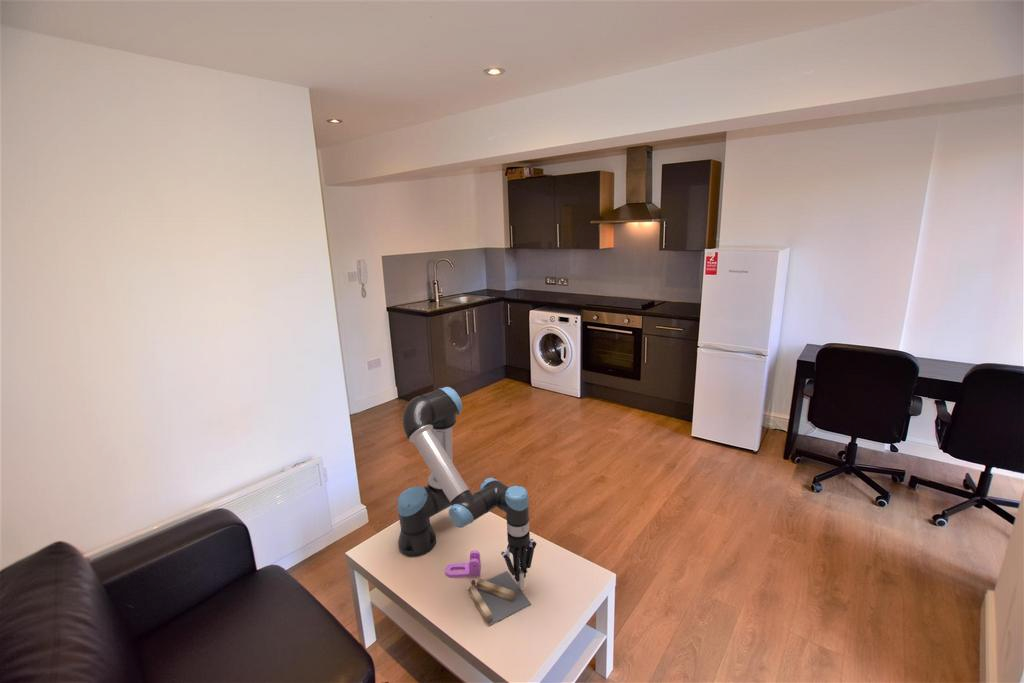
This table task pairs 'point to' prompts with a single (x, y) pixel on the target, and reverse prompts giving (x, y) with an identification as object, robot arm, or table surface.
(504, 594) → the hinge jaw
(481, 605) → the tongs base
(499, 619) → the mat
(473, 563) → the bracket
